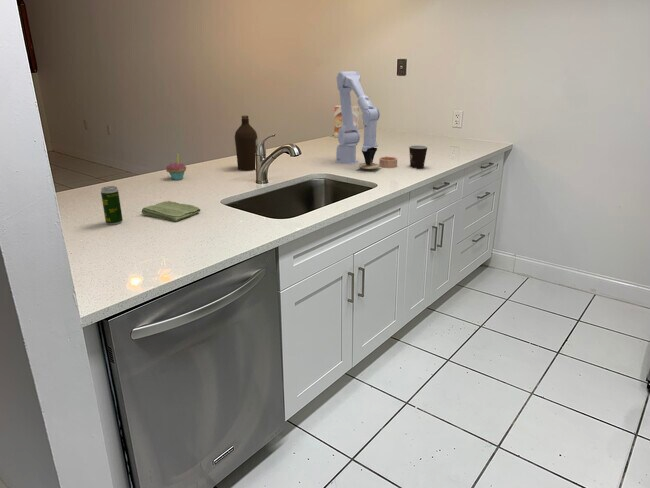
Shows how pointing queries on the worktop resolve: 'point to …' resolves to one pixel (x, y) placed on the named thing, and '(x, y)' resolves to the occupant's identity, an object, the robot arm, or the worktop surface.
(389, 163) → the bowl
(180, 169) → the cupcake
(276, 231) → the worktop surface
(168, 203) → the washcloth
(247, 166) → the olive oil
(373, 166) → the lid
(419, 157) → the coffee mug
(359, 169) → the mat
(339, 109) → the coffeecake box
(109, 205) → the beer can
